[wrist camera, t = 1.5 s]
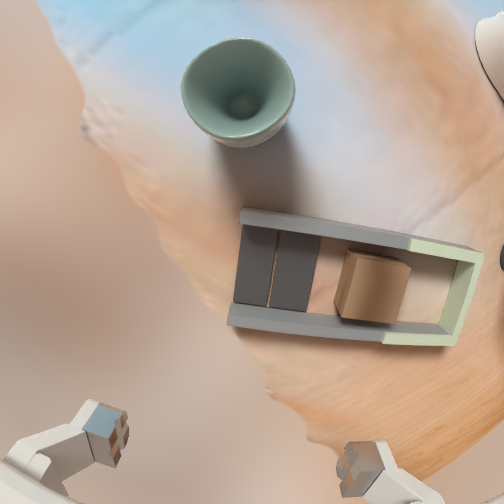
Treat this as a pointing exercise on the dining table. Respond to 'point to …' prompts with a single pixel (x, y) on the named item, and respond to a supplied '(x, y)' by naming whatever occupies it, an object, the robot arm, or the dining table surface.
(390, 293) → the block
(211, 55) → the cup
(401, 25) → the dining table surface
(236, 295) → the box
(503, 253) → the sundae
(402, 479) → the robot arm
